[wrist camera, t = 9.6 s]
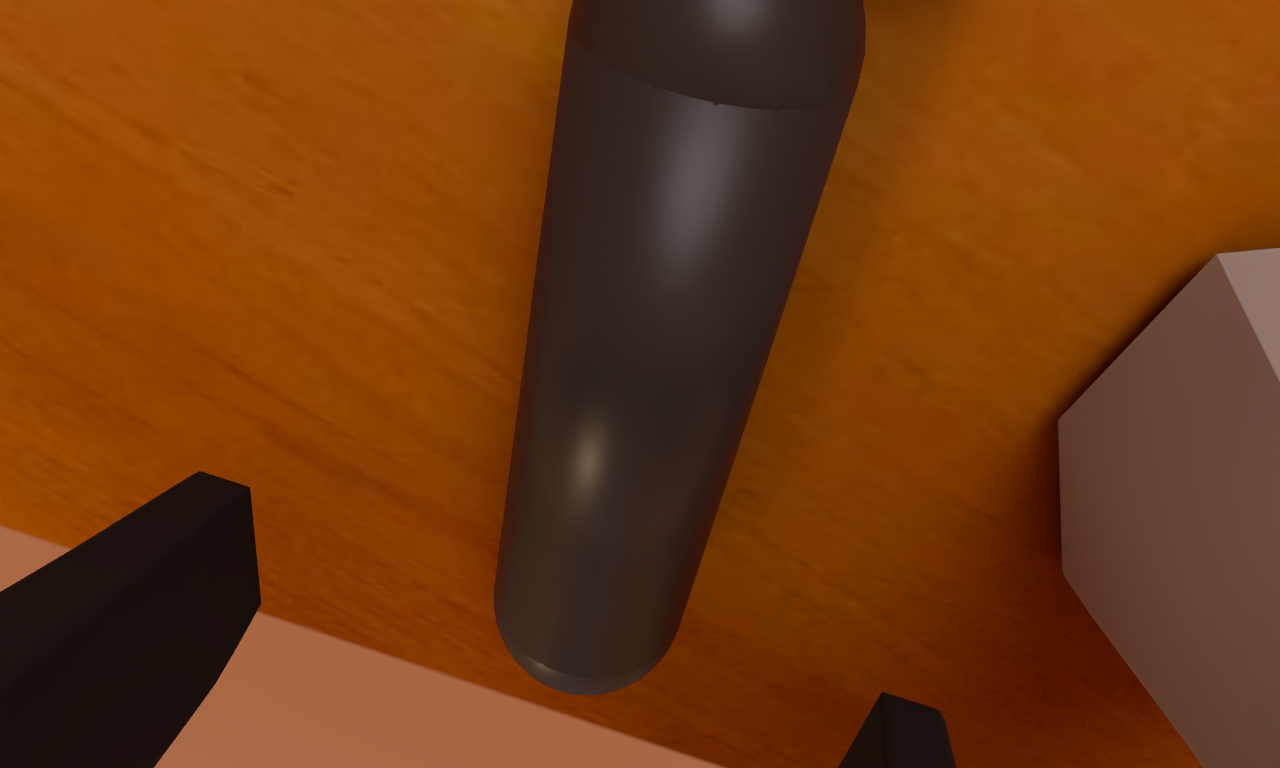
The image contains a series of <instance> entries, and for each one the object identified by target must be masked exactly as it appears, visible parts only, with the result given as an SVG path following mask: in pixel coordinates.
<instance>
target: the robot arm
mask: <svg viewBox="0 0 1280 768" xmlns="http://www.w3.org/2000/svg"><path fill="white" fill-rule="evenodd" d="M260 605H261V596H260V586H259V576H258V566H257V555H256V545H255V535H254V525H253V514H252V504H251V494H250V487H248V486H244V485H241V484H238V483H235V482H232V481H229V480H226V479H223V478H220V477H217V476H214V475H210V474H207V473H204V472H201V471H199V472H197V473H195V474H193V475H191V476H190V477H188V478H186V479H185V480H183V481H182V482H180V483H178V484H177V485H175V486H173V487H172V488H170V489H168V490H167V491H165V492H164V493H162V494H160V495H159V496H157V497H156V498H154V499H152V500H151V501H149V502H148V503H146V504H144V505H143V506H141V507H140V508H138V509H136V510H135V511H133V512H132V513H130V514H128V515H127V516H125V517H124V518H122V519H120V520H119V521H117V522H116V523H114V524H112V525H111V526H109V527H108V528H106V529H104V530H103V531H101V532H99V533H98V534H96V535H95V536H93V537H91V538H90V539H88V540H86V541H85V542H83V543H82V544H80V545H78V546H77V547H75V548H73V549H72V550H70V551H69V552H67V553H65V554H64V555H62V556H60V557H59V558H57V559H55V560H54V561H52V562H50V563H48V564H47V565H45V566H43V567H42V568H40V569H38V570H37V571H35V572H33V573H32V574H30V575H28V576H26V577H25V578H23V579H21V580H20V581H18V582H16V583H15V584H13V585H11V586H10V587H8V588H6V589H5V590H3V591H1V592H0V768H154V767H155V765H156V764H157V763H158V761H159V760H160V759H161V757H162V756H163V754H164V753H165V752H166V750H167V749H168V748H169V746H170V745H171V744H172V742H173V741H174V740H175V738H176V737H177V736H178V734H179V733H180V731H181V730H182V729H183V727H184V726H185V725H186V723H187V722H188V721H189V719H190V718H191V717H192V715H193V714H194V712H195V711H196V710H197V708H198V707H199V705H200V704H201V703H202V701H203V700H204V699H205V697H206V696H207V694H208V693H209V692H210V690H211V689H212V688H213V686H214V685H215V683H216V682H217V680H218V678H219V677H220V675H221V673H222V671H223V670H224V668H225V666H226V665H227V663H228V661H229V660H230V658H231V656H232V655H233V653H234V651H235V649H236V648H237V646H238V644H239V642H240V641H241V638H242V637H243V635H244V633H245V632H246V630H247V628H248V626H249V624H250V623H251V621H252V619H253V617H254V615H255V614H256V612H257V610H258V608H259V606H260ZM838 768H956V765H955V761H954V757H953V753H952V748H951V744H950V740H949V736H948V731H947V727H946V722H945V719H944V717H943V716H942V714H941V712H940V711H939V710H937V709H934V708H931V707H928V706H925V705H922V704H919V703H916V702H912V701H909V700H906V699H903V698H900V697H897V696H894V695H891V694H888V693H885V692H882V693H881V694H880V696H879V698H878V700H877V701H876V703H875V705H874V706H873V708H872V710H871V712H870V713H869V715H868V717H867V719H866V720H865V722H864V724H863V726H862V727H861V729H860V731H859V733H858V734H857V736H856V738H855V739H854V741H853V743H852V745H851V746H850V748H849V750H848V752H847V753H846V755H845V757H844V759H843V760H842V762H841V764H840V766H839V767H838Z"/></svg>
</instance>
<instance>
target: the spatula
mask: <svg viewBox="0 0 1280 768" xmlns="http://www.w3.org/2000/svg"><path fill="white" fill-rule="evenodd" d="M865 28H866V22H865V12H864V7H863V1H862V0H573V3H572V8H571V12H570V17H569V22H568V30H567V38H566V45H565V53H564V61H563V68H562V76H561V83H560V91H559V99H558V106H557V114H556V122H555V129H554V137H553V144H552V152H551V160H550V167H549V175H548V183H547V190H546V198H545V205H544V213H543V221H542V228H541V236H540V244H539V251H538V259H537V266H536V274H535V282H534V289H533V297H532V305H531V312H530V320H529V327H528V335H527V343H526V350H525V358H524V366H523V373H522V381H521V388H520V396H519V404H518V411H517V419H516V427H515V434H514V442H513V449H512V457H511V465H510V472H509V480H508V488H507V495H506V503H505V510H504V518H503V526H502V533H501V541H500V549H499V556H498V564H497V571H496V579H495V587H494V609H495V615H496V622H497V625H498V628H499V630H500V633H501V636H502V638H503V641H504V643H505V645H506V648H507V649H508V651H509V652H510V653H511V655H512V656H513V658H514V659H515V661H516V662H517V663H519V664H520V665H521V666H522V667H523V668H524V669H525V670H526V671H527V672H528V673H529V674H530V675H531V676H532V677H534V678H535V679H537V680H538V681H540V682H541V683H543V684H544V685H547V686H549V687H551V688H554V689H556V690H558V691H562V692H567V693H571V694H578V695H596V694H605V693H608V692H611V691H614V690H618V689H621V688H624V687H627V686H628V685H630V684H632V683H634V682H636V681H638V680H640V679H641V678H642V677H643V676H644V675H646V674H647V673H648V672H649V671H650V670H651V669H653V668H654V667H655V666H656V665H657V664H658V663H659V662H660V661H661V659H662V658H663V656H664V655H665V654H666V652H667V651H668V650H669V648H670V646H671V644H672V642H673V640H674V638H675V636H676V634H677V631H678V628H679V626H680V623H681V620H682V617H683V613H684V610H685V607H686V604H687V601H688V598H689V595H690V592H691V589H692V586H693V583H694V580H695V577H696V574H697V571H698V568H699V565H700V562H701V559H702V556H703V553H704V550H705V547H706V544H707V541H708V538H709V535H710V532H711V528H712V525H713V522H714V519H715V516H716V513H717V510H718V507H719V504H720V501H721V498H722V495H723V492H724V489H725V486H726V483H727V480H728V477H729V474H730V471H731V468H732V465H733V462H734V459H735V456H736V453H737V450H738V447H739V443H740V440H741V437H742V434H743V431H744V428H745V425H746V422H747V419H748V416H749V413H750V410H751V407H752V404H753V401H754V398H755V395H756V392H757V389H758V386H759V383H760V380H761V377H762V374H763V371H764V368H765V365H766V362H767V358H768V355H769V352H770V349H771V346H772V343H773V340H774V337H775V334H776V331H777V328H778V325H779V322H780V319H781V316H782V313H783V310H784V307H785V304H786V301H787V298H788V295H789V292H790V289H791V286H792V283H793V280H794V277H795V273H796V270H797V267H798V264H799V261H800V258H801V255H802V252H803V249H804V246H805V243H806V240H807V237H808V234H809V231H810V228H811V225H812V222H813V219H814V216H815V213H816V210H817V207H818V204H819V201H820V198H821V195H822V192H823V188H824V185H825V182H826V179H827V176H828V173H829V170H830V167H831V164H832V161H833V158H834V155H835V152H836V149H837V146H838V143H839V140H840V137H841V134H842V131H843V128H844V125H845V122H846V119H847V116H848V113H849V110H850V107H851V103H852V100H853V97H854V94H855V91H856V88H857V85H858V82H859V78H860V73H861V69H862V64H863V60H864V55H865Z"/></svg>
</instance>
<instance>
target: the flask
mask: <svg viewBox="0 0 1280 768" xmlns="http://www.w3.org/2000/svg"><path fill="white" fill-rule="evenodd" d="M1058 436H1059V472H1060V508H1061V543H1062V574H1063V575H1064V577H1065V578H1066V579H1067V581H1068V582H1069V584H1070V585H1071V587H1072V588H1073V590H1074V591H1075V593H1076V594H1077V596H1078V597H1079V599H1080V600H1081V602H1082V603H1083V604H1084V606H1085V607H1086V609H1087V610H1088V612H1089V613H1090V615H1091V616H1092V618H1093V619H1094V620H1095V622H1096V623H1097V624H1098V626H1099V627H1100V628H1101V630H1102V631H1103V632H1104V634H1105V635H1106V636H1107V638H1108V639H1109V640H1110V642H1111V643H1112V644H1113V646H1114V647H1115V649H1116V650H1117V651H1118V653H1119V654H1120V655H1121V657H1122V658H1123V659H1124V661H1125V662H1126V663H1127V665H1128V666H1129V667H1130V669H1131V670H1132V671H1133V673H1134V674H1135V675H1136V677H1137V678H1138V679H1139V681H1140V682H1141V684H1142V685H1143V686H1144V688H1145V689H1146V690H1147V692H1148V693H1149V694H1150V696H1151V697H1152V698H1153V700H1154V701H1155V702H1156V704H1157V705H1158V706H1159V708H1160V709H1161V710H1162V712H1163V713H1164V714H1165V716H1166V717H1167V718H1168V720H1169V721H1170V723H1171V724H1172V725H1173V727H1174V728H1175V729H1176V731H1177V732H1178V733H1179V735H1180V736H1181V737H1182V739H1183V740H1184V741H1185V743H1186V744H1187V745H1188V747H1189V748H1190V750H1191V751H1192V753H1193V754H1194V756H1195V757H1196V759H1197V760H1198V761H1199V763H1200V764H1201V766H1202V767H1203V768H1280V248H1273V249H1263V250H1252V251H1241V252H1230V253H1220V254H1216V255H1215V256H1214V257H1213V258H1212V259H1211V260H1210V261H1209V262H1208V263H1207V264H1206V265H1205V266H1204V267H1203V268H1202V269H1201V270H1200V271H1199V273H1198V274H1197V275H1196V276H1195V277H1194V278H1193V279H1192V280H1191V281H1190V282H1189V283H1188V284H1187V285H1186V286H1185V287H1184V288H1183V289H1182V290H1181V291H1180V292H1179V294H1178V295H1177V296H1176V297H1175V298H1174V299H1173V300H1172V301H1171V302H1170V303H1169V304H1168V305H1167V306H1166V307H1165V308H1164V309H1163V310H1162V311H1161V312H1160V313H1159V315H1158V316H1157V317H1156V318H1155V319H1154V320H1153V321H1152V322H1151V323H1150V324H1149V325H1148V326H1147V327H1146V328H1145V329H1144V330H1143V331H1142V332H1141V333H1140V334H1139V336H1138V337H1137V338H1136V339H1135V340H1134V341H1133V342H1132V343H1131V344H1130V345H1129V346H1128V347H1127V348H1126V349H1125V350H1124V351H1123V352H1122V353H1121V354H1120V355H1119V356H1118V358H1117V359H1116V360H1115V361H1114V362H1113V363H1112V364H1111V365H1110V366H1109V367H1108V368H1107V369H1106V370H1105V371H1104V372H1103V373H1102V374H1101V375H1100V376H1099V377H1098V379H1097V380H1096V381H1095V382H1094V383H1093V384H1092V385H1091V386H1090V387H1089V388H1088V389H1087V390H1086V391H1085V392H1084V393H1083V394H1082V395H1081V396H1080V397H1079V398H1078V400H1077V401H1076V402H1075V403H1074V404H1073V405H1072V406H1071V407H1070V408H1069V409H1068V410H1067V411H1066V412H1065V413H1064V414H1063V415H1062V416H1061V417H1060V418H1059V419H1058Z"/></svg>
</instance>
